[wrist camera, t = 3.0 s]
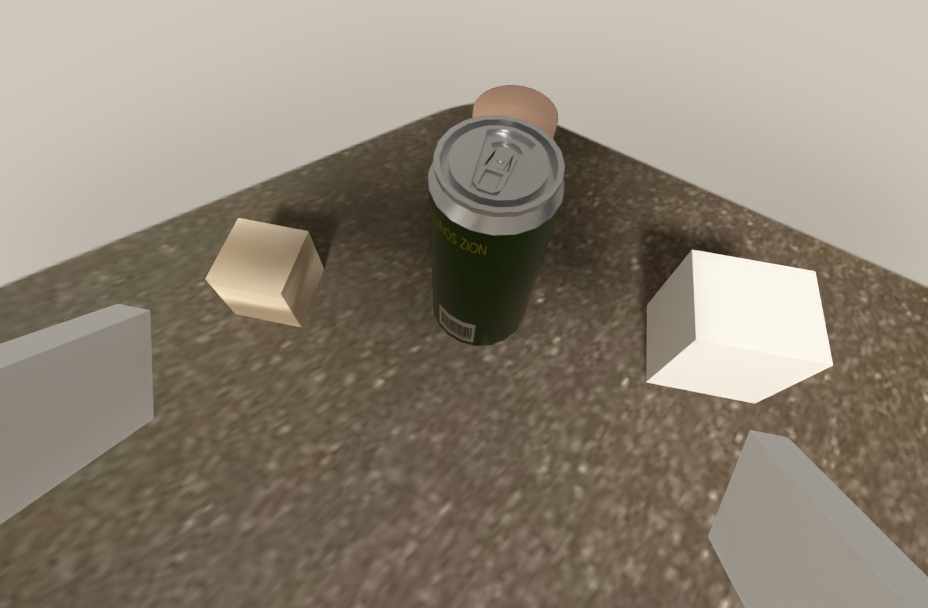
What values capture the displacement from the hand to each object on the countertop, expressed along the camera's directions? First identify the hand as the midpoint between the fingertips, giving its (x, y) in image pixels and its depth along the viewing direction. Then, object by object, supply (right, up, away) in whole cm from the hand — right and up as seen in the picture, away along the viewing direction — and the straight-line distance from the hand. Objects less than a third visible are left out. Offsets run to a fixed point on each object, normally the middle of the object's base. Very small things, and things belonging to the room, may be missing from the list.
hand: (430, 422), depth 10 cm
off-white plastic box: (+14, 0, +17) cm, 22 cm away
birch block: (-10, +3, +18) cm, 21 cm away
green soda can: (+2, +2, +18) cm, 18 cm away
